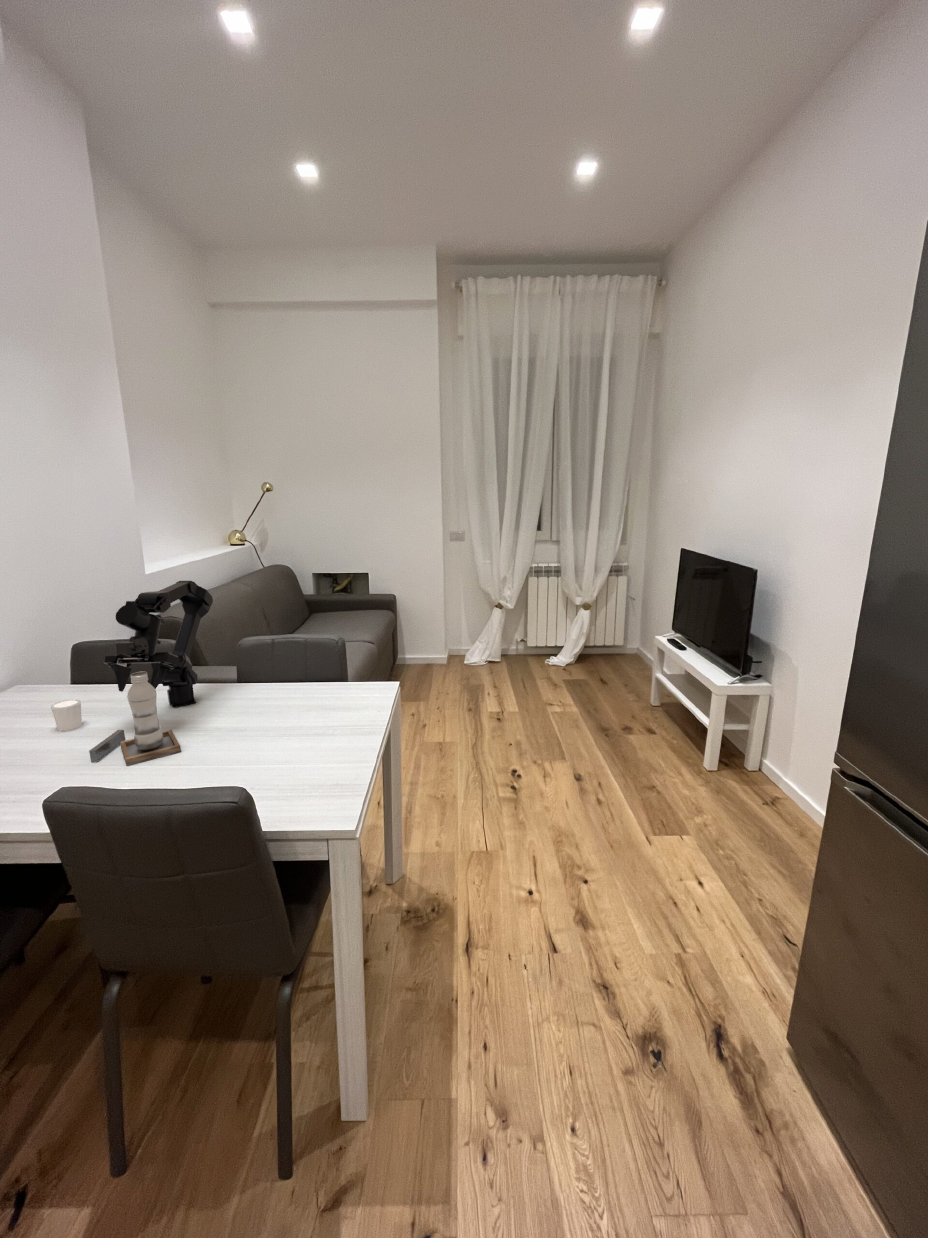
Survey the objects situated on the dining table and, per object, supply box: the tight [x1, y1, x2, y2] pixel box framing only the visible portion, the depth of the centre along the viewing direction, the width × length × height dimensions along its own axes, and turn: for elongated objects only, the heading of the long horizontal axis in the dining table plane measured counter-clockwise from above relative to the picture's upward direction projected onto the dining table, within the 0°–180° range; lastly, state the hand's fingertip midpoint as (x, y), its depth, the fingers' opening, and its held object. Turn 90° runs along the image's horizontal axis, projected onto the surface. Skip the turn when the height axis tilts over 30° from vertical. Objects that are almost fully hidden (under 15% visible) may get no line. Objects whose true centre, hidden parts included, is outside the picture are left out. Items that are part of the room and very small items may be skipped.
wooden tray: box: [119, 729, 182, 767], centre depth 140 cm, size 12×12×2 cm
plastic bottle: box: [126, 671, 163, 751], centre depth 138 cm, size 6×7×20 cm
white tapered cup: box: [50, 699, 83, 732], centre depth 153 cm, size 7×7×7 cm
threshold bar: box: [88, 729, 126, 763], centre depth 140 cm, size 12×2×3 cm, turn 1°
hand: (136, 691), depth 148 cm, fingers open, 9 cm apart
